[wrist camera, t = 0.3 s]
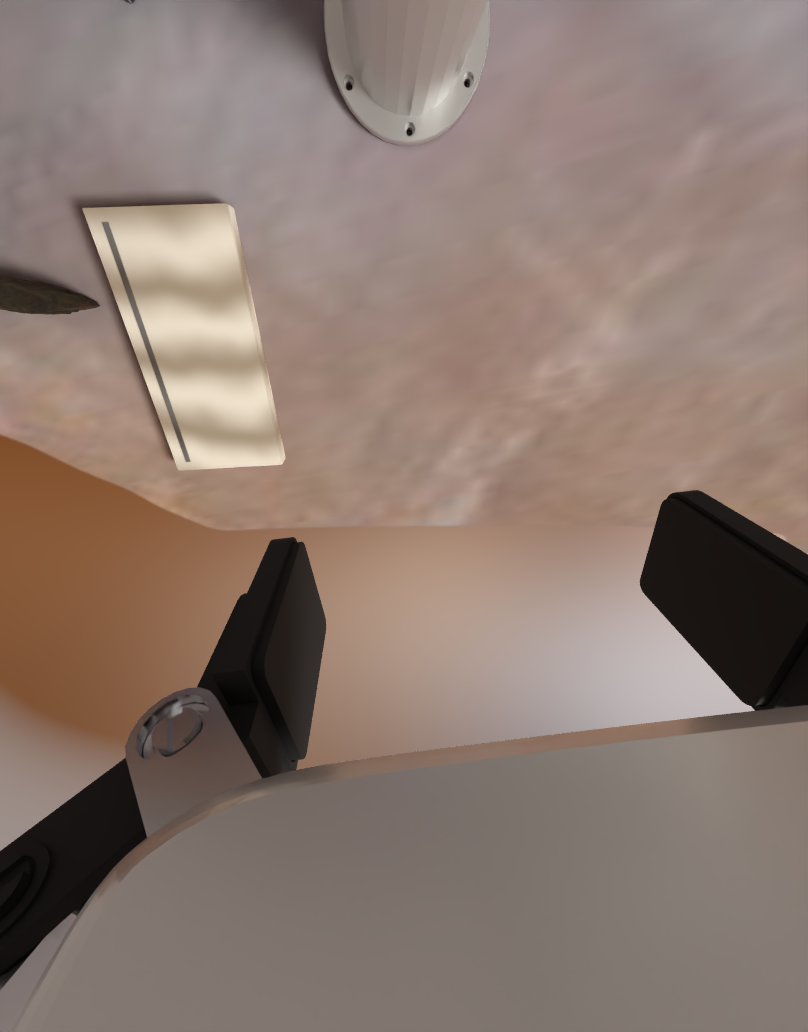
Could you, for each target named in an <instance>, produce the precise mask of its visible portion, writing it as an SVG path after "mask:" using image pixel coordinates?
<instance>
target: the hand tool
mask: <svg viewBox="0 0 808 1032" xmlns="http://www.w3.org/2000/svg"><path fill="white" fill-rule="evenodd" d="M99 306H100V305H99V304H98V303H97V302H95V301H94V300H91V299H89V298H87V297H85V296H82V295H80V294H78V293H74V292H71V291H69V290H67V289H62V288H58V287H54V286H52V285H49V284H45V283H42V282H30V281H26V280H18V279H13V278H7V277H1V276H0V309H2V310H8V311H13V312H20V313H30V314H71V312H78V311H79V310H86V309H91V308H96V307H99Z"/></svg>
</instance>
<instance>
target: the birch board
mask: <svg viewBox="0 0 808 1032" xmlns="http://www.w3.org/2000/svg"><path fill="white" fill-rule="evenodd" d="M82 209H83V212H84V215H85V217H86V220H87V223H88V225H89V228H90V231H91V234H92V236H93V239H94V242H95V245H96V247H97V250H98V253H99V255H100V258H101V261H102V264H103V266H104V269H105V272H106V275H107V277H108V280H109V283H110V285H111V288H112V291H113V294H114V296H115V299H116V302H117V305H118V307H119V310H120V313H121V315H122V318H123V321H124V324H125V326H126V329H127V332H128V335H129V337H130V340H131V343H132V346H133V348H134V351H135V354H136V356H137V359H138V362H139V365H140V367H141V370H142V373H143V376H144V378H145V381H146V384H147V386H148V389H149V392H150V395H151V397H152V400H153V403H154V406H155V408H156V411H157V414H158V416H159V419H160V422H161V425H162V427H163V430H164V433H165V436H166V438H167V441H168V444H169V446H170V449H171V452H172V455H173V457H174V460H175V463H176V466H177V468H178V470H196V469H213V468H231V467H248V466H266V465H282V464H283V462H284V460H285V459H286V458H285V453H284V448H283V443H282V439H281V434H280V429H279V424H278V419H277V415H276V410H275V405H274V400H273V395H272V390H271V386H270V381H269V376H268V371H267V366H266V362H265V357H264V352H263V347H262V342H261V337H260V333H259V328H258V323H257V318H256V313H255V309H254V304H253V299H252V294H251V289H250V284H249V280H248V275H247V270H246V265H245V260H244V256H243V251H242V246H241V241H240V236H239V231H238V227H237V222H236V217H235V212H234V208H233V207H231V206H229V205H228V204H226V203H219V204H189V205H159V206H129V207H100V208H82Z"/></svg>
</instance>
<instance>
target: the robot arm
mask: <svg viewBox="0 0 808 1032" xmlns="http://www.w3.org/2000/svg"><path fill="white" fill-rule="evenodd" d="M323 9H324V33H325V39H326V46H327V52H328V57H329V61H330V65H331V69H332V73H333V75H334V78H335V81H336V83H337V86H338V89H339V91H340V93H341V95H342V97H343V99H344V101H345V102H346V104H347V106H348V108H349V109H350V111H351V112H352V113H353V115H354V116H355V117H356V118H357V120H358V121H359V122H360V123H361V124H362V125H363V126H364V127H365V128H366V129H367V130H368V131H370V132H371V133H372V134H373V135H375V136H377V137H379V138H380V139H382V140H384V141H386V142H389V143H392V144H396V145H400V146H415V145H419V144H424V143H427V142H429V141H431V140H433V139H435V138H437V137H439V136H441V135H442V134H443V133H444V132H445V131H447V130H448V129H449V128H450V127H452V126H453V124H454V123H455V122H456V121H457V120H458V118H459V117H460V116H461V115H462V113H463V112H464V110H465V109H466V107H467V105H468V103H469V102H470V100H471V98H472V96H473V94H474V92H475V90H476V88H477V85H478V83H479V80H480V77H481V73H482V70H483V67H484V64H485V60H486V54H487V48H488V43H489V31H490V6H489V0H324V6H323ZM465 81H467V82H468V83H469V88H467V87H465V86H464V82H465ZM348 84H351V85H352V90H350V91H348V90H347V89H346V86H347V85H348ZM407 130H411V131H412V135H411V136H408V135H407V133H406V131H407ZM640 586H641V589H642V591H643V593H644V594H645V595H646V596H647V597H648V598H649V600H650V601H651V602H652V603H653V604H654V605H655V606H656V607H657V608H658V609H659V611H660V612H661V613H662V614H663V615H664V616H665V617H666V618H667V619H668V621H669V622H670V623H671V624H672V625H673V626H674V627H675V628H676V629H677V631H679V633H680V634H681V635H682V636H683V637H684V638H685V639H686V640H687V641H688V643H689V644H690V645H691V646H692V647H693V648H694V649H695V650H696V651H697V652H698V653H699V655H700V656H701V657H702V658H703V659H704V660H705V661H706V662H707V664H708V665H709V666H710V667H711V668H712V669H713V670H714V671H715V672H716V674H717V675H718V676H719V677H720V678H721V679H722V680H723V681H724V682H725V684H726V685H727V686H728V687H729V688H730V689H731V690H732V691H733V692H734V693H735V695H736V696H737V697H738V698H739V699H740V700H741V701H742V702H744V703H745V704H747V705H749V706H752V708H753V709H754V710H755V711H751V712H742V713H732V714H724V715H715V716H706V717H697V718H689V719H680V720H672V721H663V722H655V723H646V724H638V725H629V726H621V727H612V728H604V729H596V730H587V731H579V732H571V733H562V734H554V735H545V736H537V737H530V738H521V739H513V740H505V741H497V742H490V743H481V744H473V745H465V746H456V747H448V748H440V749H433V750H425V751H417V752H410V753H402V754H395V755H388V756H381V757H374V758H367V759H360V760H353V761H346V762H339V763H331V764H326V765H321V766H316V767H310V768H305V769H300V770H296V768H297V762H298V760H300V759H304V758H305V756H306V753H307V747H308V741H309V735H310V728H311V722H312V716H313V710H314V703H315V697H316V690H317V684H318V678H319V671H320V664H321V658H322V652H323V646H324V639H325V633H326V619H325V615H324V611H323V608H322V604H321V600H320V597H319V594H318V590H317V587H316V583H315V580H314V576H313V572H312V569H311V565H310V562H309V558H308V555H307V551H306V548H305V545H304V543H303V542H297V541H296V539H295V538H294V537H291V538H283V539H274V540H271V541H270V543H269V545H268V548H267V550H266V552H265V554H264V557H263V559H262V561H261V563H260V566H259V568H258V570H257V572H256V575H255V577H254V579H253V581H252V584H251V586H250V588H249V590H248V593H247V594H243V595H241V596H240V598H239V599H238V601H237V603H236V605H235V607H234V609H233V611H232V614H231V616H230V618H229V620H228V622H227V624H226V626H225V629H224V631H223V633H222V635H221V637H220V639H219V641H218V644H217V646H216V648H215V650H214V652H213V654H212V656H211V659H210V661H209V663H208V665H207V667H206V669H205V671H204V674H203V676H202V678H201V680H200V682H199V684H198V686H197V688H187V689H184V690H180V691H177V692H174V693H172V694H171V695H169V696H167V697H165V698H163V699H161V700H160V701H159V702H157V703H156V704H155V705H153V706H152V707H151V708H149V709H148V711H147V712H146V713H145V714H144V715H143V716H142V717H141V718H140V719H139V720H138V721H137V723H136V725H135V726H134V728H133V729H132V731H131V732H130V734H129V737H128V740H127V743H126V746H125V749H126V750H125V752H126V758H125V759H123V760H122V761H121V762H119V763H118V764H117V765H115V766H114V767H113V768H111V769H110V770H109V771H107V772H106V773H105V774H103V775H102V776H101V777H99V778H98V779H97V780H95V781H94V782H92V783H91V784H90V785H88V786H87V787H86V788H84V789H83V790H82V791H80V792H79V793H78V794H76V795H75V796H74V797H72V798H71V799H70V800H68V801H67V802H66V803H64V804H63V805H62V806H60V807H59V808H58V809H56V810H55V811H54V812H52V813H51V814H50V815H48V816H47V817H45V818H44V819H43V820H42V821H40V822H39V823H37V824H36V825H35V826H34V827H32V828H31V829H29V830H28V831H27V832H25V833H24V834H23V835H21V836H20V837H19V838H17V839H16V840H15V841H13V842H12V843H11V844H9V845H8V846H7V847H5V848H4V849H3V850H1V851H0V1032H808V554H806V553H804V552H803V551H801V550H799V549H798V548H796V547H794V546H793V545H791V544H789V543H787V542H786V541H784V540H782V539H780V538H779V537H777V536H776V535H774V534H772V533H771V532H769V531H767V530H766V529H764V528H762V527H761V526H759V525H757V524H755V523H754V522H752V521H750V520H749V519H747V518H745V517H744V516H742V515H740V514H739V513H737V512H735V511H734V510H732V509H730V508H728V507H727V506H725V505H723V504H722V503H720V502H718V501H717V500H715V499H713V498H712V497H710V496H708V495H707V494H705V493H703V492H701V491H698V490H693V491H685V492H676V493H672V494H670V495H669V496H668V497H667V499H666V500H664V501H663V502H662V504H661V507H660V510H659V514H658V518H657V521H656V525H655V528H654V532H653V536H652V539H651V543H650V546H649V550H648V553H647V557H646V560H645V564H644V568H643V571H642V575H641V578H640Z"/></svg>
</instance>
